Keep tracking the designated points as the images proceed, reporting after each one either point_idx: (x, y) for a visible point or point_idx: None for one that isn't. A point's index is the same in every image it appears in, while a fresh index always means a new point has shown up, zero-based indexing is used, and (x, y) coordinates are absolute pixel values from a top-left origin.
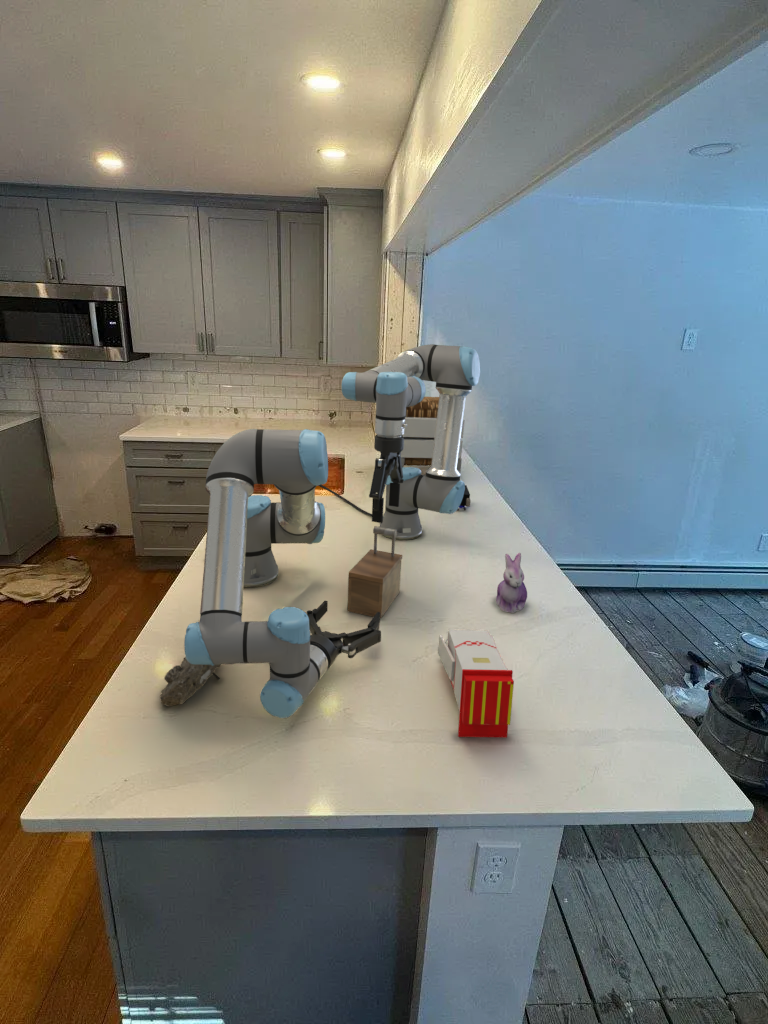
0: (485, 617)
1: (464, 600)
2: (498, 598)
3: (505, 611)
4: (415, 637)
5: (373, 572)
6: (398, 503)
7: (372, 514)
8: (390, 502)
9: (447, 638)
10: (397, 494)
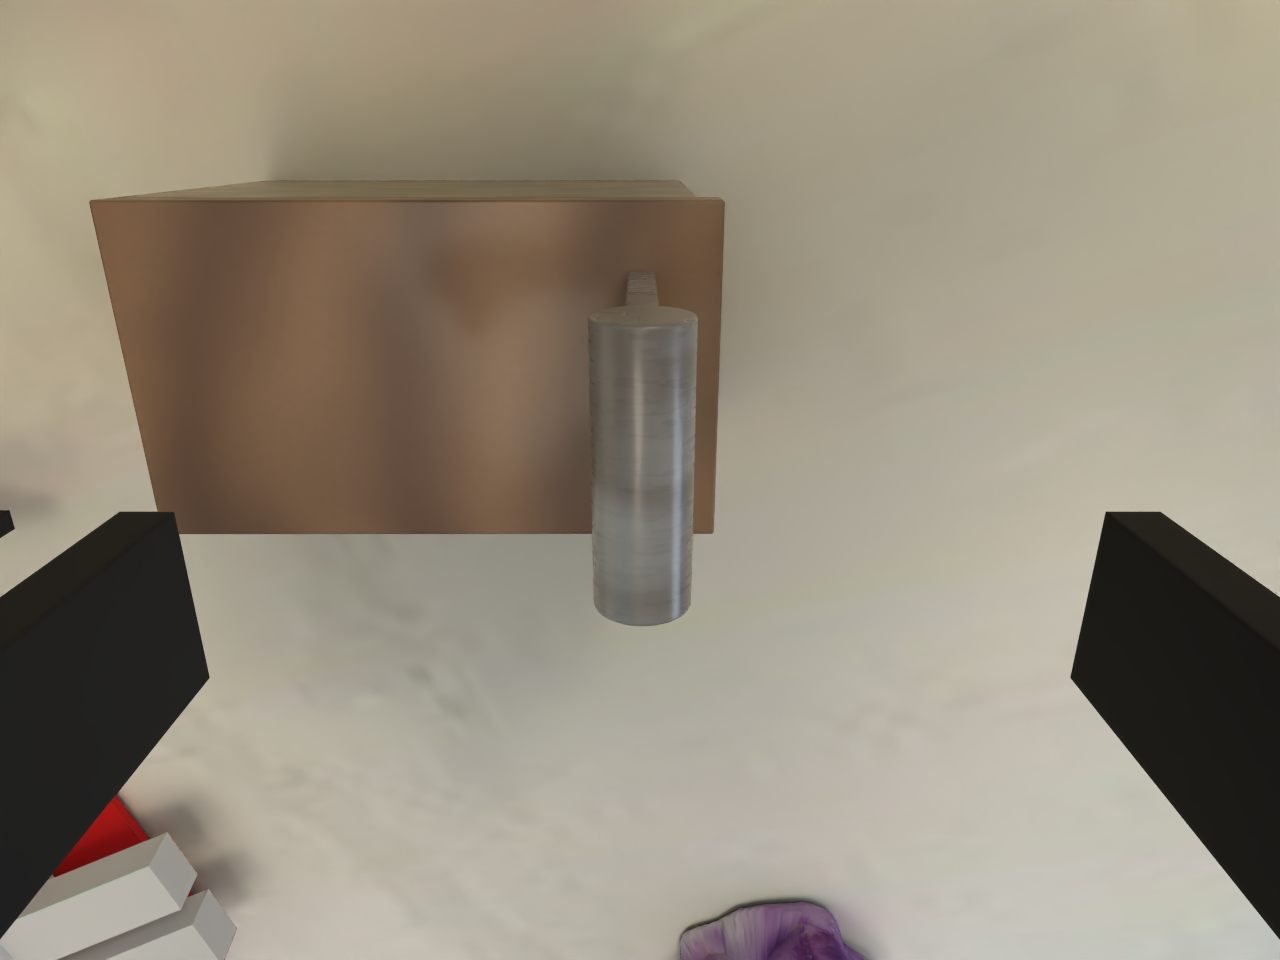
0: (590, 877)
1: (728, 769)
2: (750, 938)
3: (681, 946)
4: (226, 640)
5: (225, 422)
6: (1115, 718)
7: (36, 583)
8: (1135, 573)
9: (162, 838)
10: (1229, 837)
